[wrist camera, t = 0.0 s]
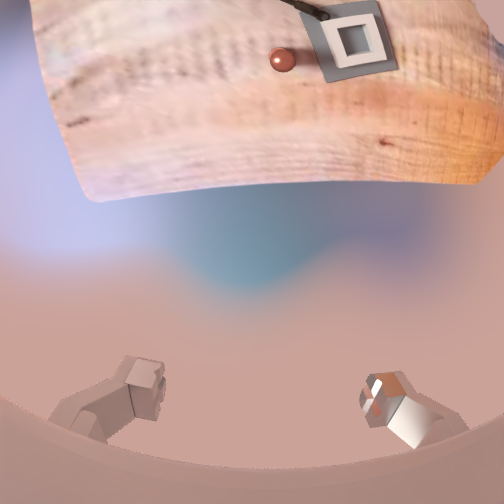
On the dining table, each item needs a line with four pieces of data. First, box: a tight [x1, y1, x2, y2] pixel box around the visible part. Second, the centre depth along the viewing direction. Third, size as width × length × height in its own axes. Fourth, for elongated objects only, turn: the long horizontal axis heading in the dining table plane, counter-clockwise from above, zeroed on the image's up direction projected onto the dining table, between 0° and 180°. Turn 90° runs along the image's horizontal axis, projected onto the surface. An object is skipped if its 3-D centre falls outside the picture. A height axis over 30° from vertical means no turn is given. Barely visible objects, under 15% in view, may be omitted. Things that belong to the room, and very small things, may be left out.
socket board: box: [299, 0, 397, 83], centre depth 38 cm, size 16×16×4 cm
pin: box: [269, 47, 296, 72], centre depth 40 cm, size 4×4×11 cm
